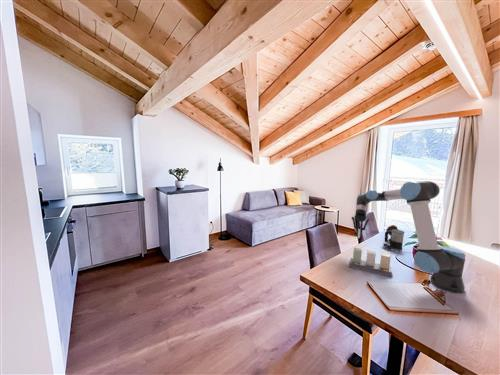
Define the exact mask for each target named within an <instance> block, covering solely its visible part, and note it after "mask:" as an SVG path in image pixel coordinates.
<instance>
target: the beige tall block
mask: <svg viewBox="0 0 500 375" xmlns="http://www.w3.org/2000/svg"><path fill="white" fill-rule="evenodd" d="M379 262H380V263H379V264H380V268H383V269H388V270H389V266H391V265H390V264H391V254H389V253H384V252H381V253H380V260H379Z"/></svg>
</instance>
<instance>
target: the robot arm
mask: <svg viewBox="0 0 500 375" xmlns="http://www.w3.org/2000/svg"><path fill="white" fill-rule="evenodd" d="M440 191H441V190H440V187H439V185H438V184H437V183H436V182H433V181H431V180H428V181H427V180H425V181H424V180H412V181H410V180H409V181H407V182H404V184H403V185H402V186H401V187H400V188H398V189H397V188H396V189H391V190H385V191H376V190H374V189H370V190H368V191H366V192H365V193H364V194H359V195H357V197H356V206H355V215H354V216H351V220H352V223H353V224H352V225H353V228H354V229H355V230H356V234H357V239H361V235H362V234H363V231H366V228H367V225H368V223H369V222H370V218H367V207H368V205H369V203H371V202H388V201H393V200H405V201H406V204H407V205H409V206H410V211H411V213H412V214H411V215H412V219H413V223H414V228H415V233H416V238H417V242H418V246H417V247H416V253H415V254H414V256H413V260H414V263H415V265H416V266H417V268H419V269H420V271H423V272H424V273H427V274H431V275H430V278H429V280H430V281H429V282H430V283H431V284H432V285H434V286H435V287H436V288H439V289H441V290H444V291H446V292H451V293H455V294H457V293H458V294H462V293H464V292H465V288H466V287H465V283H464V280H463V274H464V267H465V262H466V254H465V252H463V251H461V250H458V249H456V248H453V247H449V246H445V245H440V246H439V245H438V241H437V236H436V232H435V228H434V227H435V226H434V223H433V219H432V216H431V210H430V207H429V204H430V203H431V200H433V199H435V198H437V196H438V195H439V194H440ZM355 220H356V221H355ZM364 221H365V223H364ZM363 223H364V226H363ZM359 225H360V226H359ZM359 227H360V228H359Z"/></svg>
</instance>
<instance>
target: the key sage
mask: <svg viewBox="0 0 500 375" xmlns="http://www.w3.org/2000/svg"><path fill="white" fill-rule="evenodd" d="M362 250H363V249H362V248H358V247H354V248H353V252H352V253H353V255H352V258H353V262H356V263H361V260H362V253H363V251H362Z"/></svg>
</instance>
